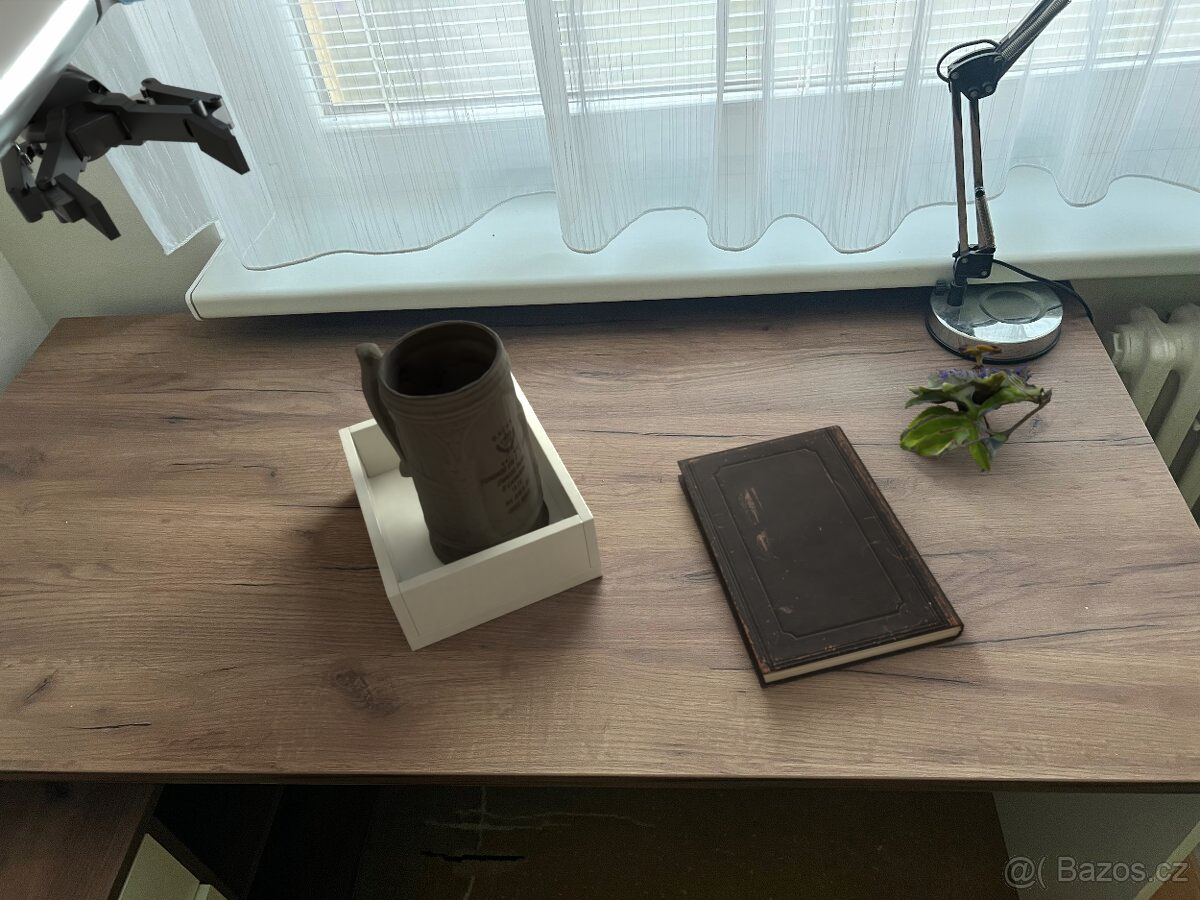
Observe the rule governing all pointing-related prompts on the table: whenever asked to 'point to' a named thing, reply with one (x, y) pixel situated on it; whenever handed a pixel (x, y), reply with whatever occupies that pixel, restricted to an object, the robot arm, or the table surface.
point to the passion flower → (968, 407)
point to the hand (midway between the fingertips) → (174, 187)
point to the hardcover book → (812, 557)
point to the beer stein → (457, 434)
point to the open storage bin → (483, 580)
